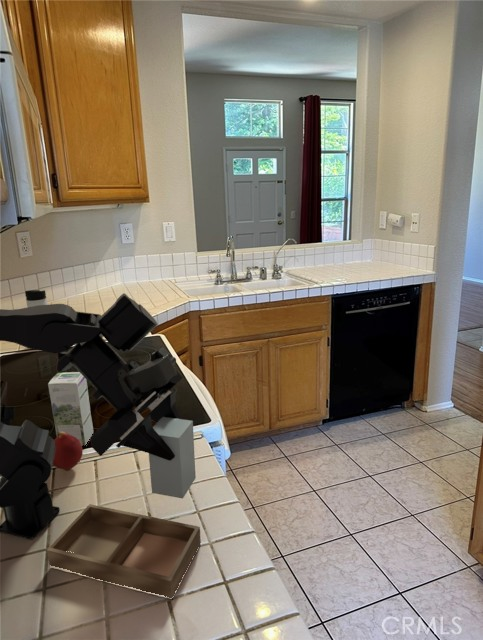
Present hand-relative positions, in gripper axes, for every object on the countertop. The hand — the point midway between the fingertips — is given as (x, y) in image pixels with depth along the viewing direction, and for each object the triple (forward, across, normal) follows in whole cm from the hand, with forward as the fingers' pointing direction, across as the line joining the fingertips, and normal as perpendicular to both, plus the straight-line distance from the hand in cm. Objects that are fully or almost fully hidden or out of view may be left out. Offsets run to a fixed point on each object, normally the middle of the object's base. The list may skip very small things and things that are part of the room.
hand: (180, 448), depth 64 cm
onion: (-10, +6, +28) cm, 30 cm away
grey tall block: (+4, 0, +6) cm, 7 cm away
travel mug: (-49, +67, +67) cm, 107 cm away
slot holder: (+5, -9, +12) cm, 16 cm away
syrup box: (-13, +16, +31) cm, 37 cm away
